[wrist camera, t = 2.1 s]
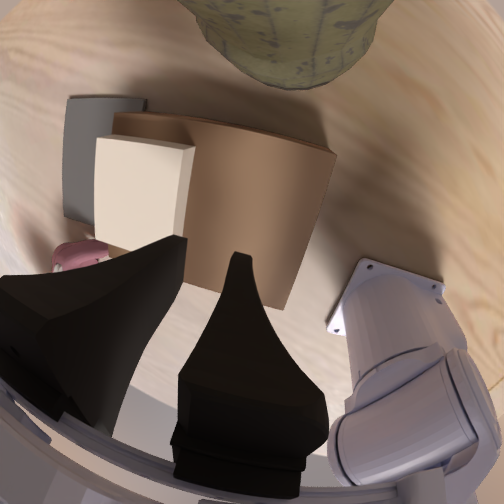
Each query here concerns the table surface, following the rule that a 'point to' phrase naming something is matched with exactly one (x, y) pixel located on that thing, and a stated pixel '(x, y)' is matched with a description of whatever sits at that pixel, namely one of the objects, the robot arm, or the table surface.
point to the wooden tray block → (241, 198)
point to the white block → (140, 189)
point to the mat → (87, 149)
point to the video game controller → (78, 254)
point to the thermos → (289, 36)
